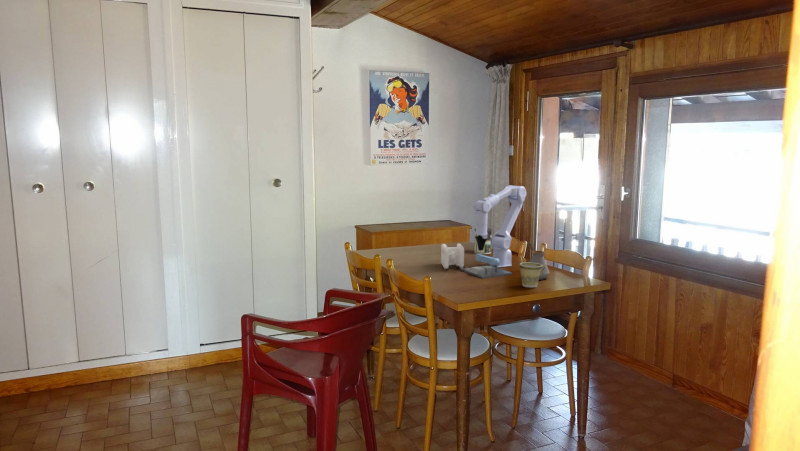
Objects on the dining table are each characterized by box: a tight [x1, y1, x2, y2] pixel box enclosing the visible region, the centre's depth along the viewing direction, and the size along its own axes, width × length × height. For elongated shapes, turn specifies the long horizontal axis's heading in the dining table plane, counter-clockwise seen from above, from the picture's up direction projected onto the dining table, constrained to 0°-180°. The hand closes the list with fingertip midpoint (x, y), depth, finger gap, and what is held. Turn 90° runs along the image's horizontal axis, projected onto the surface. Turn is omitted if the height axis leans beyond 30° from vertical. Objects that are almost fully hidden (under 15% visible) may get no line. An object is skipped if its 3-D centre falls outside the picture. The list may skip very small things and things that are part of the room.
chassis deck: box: [460, 267, 513, 279], centre depth 282 cm, size 18×18×1 cm
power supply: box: [480, 264, 495, 273], centre depth 280 cm, size 5×5×3 cm
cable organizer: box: [440, 243, 465, 270], centre depth 293 cm, size 15×11×12 cm
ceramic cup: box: [519, 261, 545, 289], centre depth 257 cm, size 13×10×10 cm
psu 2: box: [470, 265, 485, 274], centre depth 277 cm, size 5×5×3 cm
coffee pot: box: [526, 241, 550, 281], centre depth 276 cm, size 21×12×15 cm, turn 3°
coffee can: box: [473, 227, 493, 255], centre depth 332 cm, size 10×10×14 cm
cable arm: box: [475, 253, 499, 266], centre depth 286 cm, size 16×4×3 cm, turn 32°
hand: (480, 250), depth 288 cm, fingers closed
